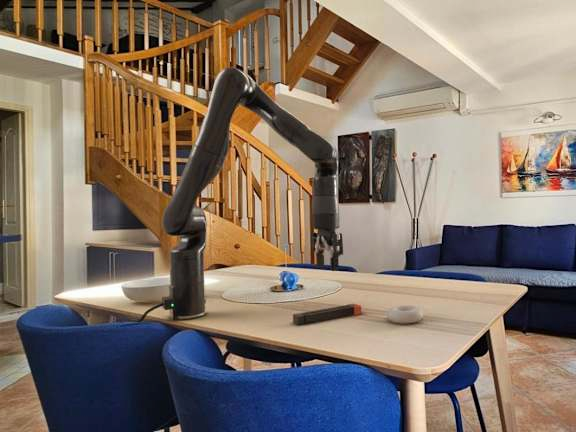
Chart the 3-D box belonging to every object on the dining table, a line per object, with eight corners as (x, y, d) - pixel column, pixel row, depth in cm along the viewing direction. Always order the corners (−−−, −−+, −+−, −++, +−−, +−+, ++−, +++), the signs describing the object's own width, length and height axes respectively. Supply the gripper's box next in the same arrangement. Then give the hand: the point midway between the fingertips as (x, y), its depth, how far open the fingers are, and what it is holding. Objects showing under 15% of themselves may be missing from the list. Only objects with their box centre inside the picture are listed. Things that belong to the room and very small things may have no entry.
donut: (418, 326, 108) (426, 316, 118) (417, 313, 108) (426, 304, 118) (381, 324, 112) (393, 314, 121) (381, 311, 111) (392, 302, 121)
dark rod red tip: (298, 326, 111) (298, 317, 111) (292, 322, 115) (292, 314, 115) (361, 313, 123) (361, 305, 123) (353, 311, 126) (353, 303, 126)
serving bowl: (149, 294, 161) (149, 276, 161) (200, 294, 158) (200, 276, 158) (106, 306, 140) (106, 286, 140) (164, 307, 137) (163, 286, 137)
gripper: (302, 212, 122) (304, 268, 122) (325, 212, 110) (327, 273, 111) (325, 212, 126) (327, 265, 126) (350, 211, 115) (351, 270, 115)
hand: (327, 269), depth 119 cm, fingers open, 8 cm apart
